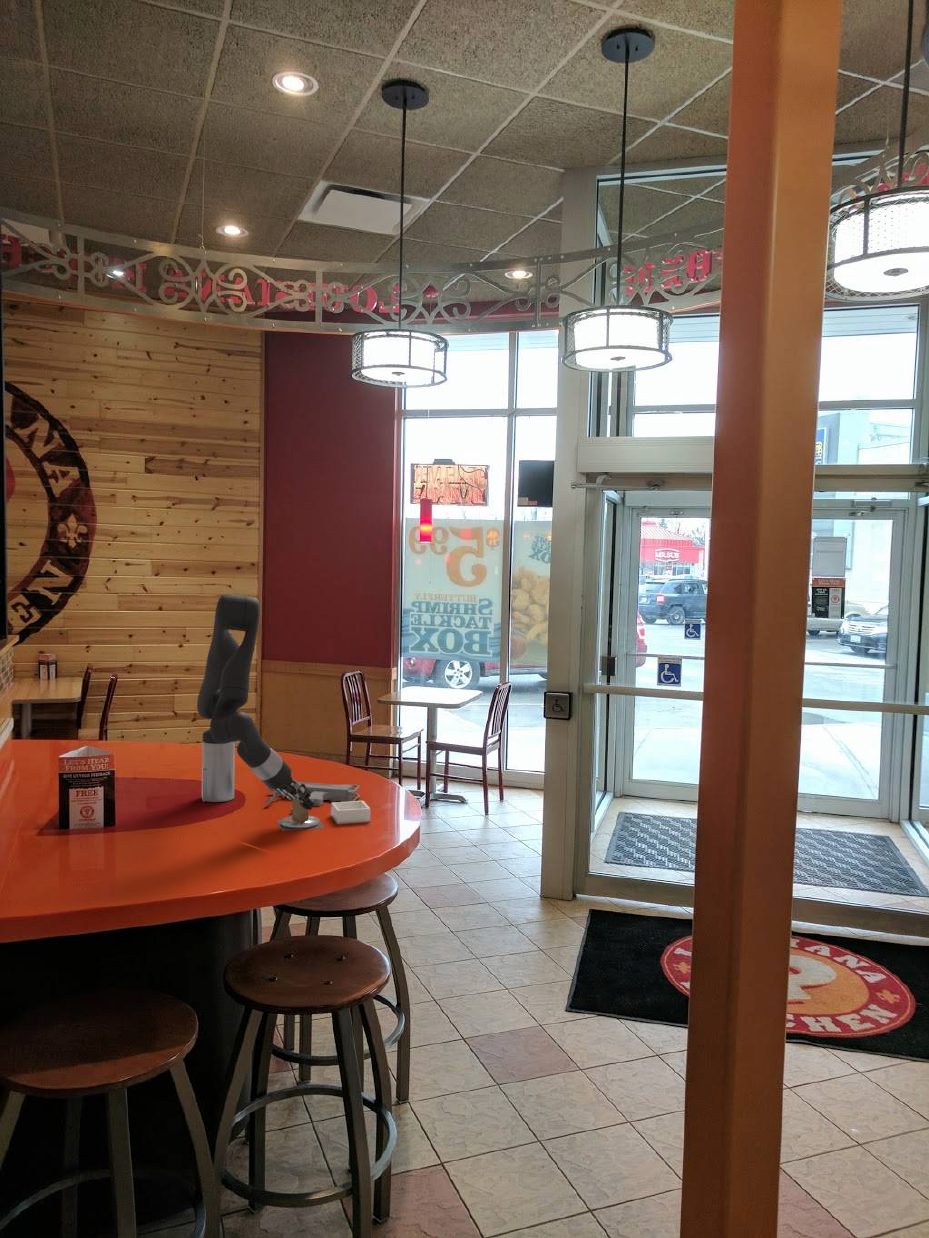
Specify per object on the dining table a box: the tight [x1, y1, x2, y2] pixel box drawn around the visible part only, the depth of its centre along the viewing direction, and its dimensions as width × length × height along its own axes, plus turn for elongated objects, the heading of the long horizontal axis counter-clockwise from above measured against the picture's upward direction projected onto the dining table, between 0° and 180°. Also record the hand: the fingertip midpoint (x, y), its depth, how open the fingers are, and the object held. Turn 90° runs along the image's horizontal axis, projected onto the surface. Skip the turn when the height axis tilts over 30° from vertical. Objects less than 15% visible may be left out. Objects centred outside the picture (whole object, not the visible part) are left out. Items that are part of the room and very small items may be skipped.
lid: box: [280, 790, 320, 830], centre depth 239 cm, size 10×10×9 cm
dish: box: [330, 800, 371, 825], centre depth 246 cm, size 9×9×4 cm
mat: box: [276, 819, 325, 832], centre depth 240 cm, size 11×11×1 cm
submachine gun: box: [265, 781, 361, 815], centre depth 263 cm, size 4×28×25 cm
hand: (306, 805), depth 241 cm, fingers open, 3 cm apart
